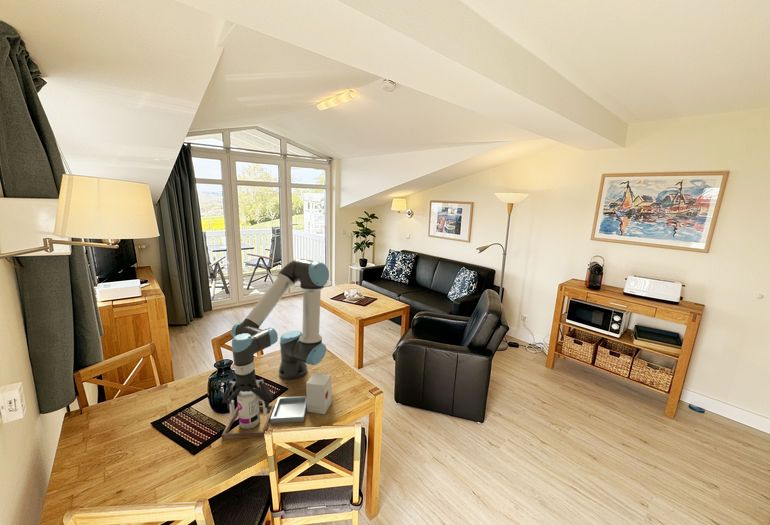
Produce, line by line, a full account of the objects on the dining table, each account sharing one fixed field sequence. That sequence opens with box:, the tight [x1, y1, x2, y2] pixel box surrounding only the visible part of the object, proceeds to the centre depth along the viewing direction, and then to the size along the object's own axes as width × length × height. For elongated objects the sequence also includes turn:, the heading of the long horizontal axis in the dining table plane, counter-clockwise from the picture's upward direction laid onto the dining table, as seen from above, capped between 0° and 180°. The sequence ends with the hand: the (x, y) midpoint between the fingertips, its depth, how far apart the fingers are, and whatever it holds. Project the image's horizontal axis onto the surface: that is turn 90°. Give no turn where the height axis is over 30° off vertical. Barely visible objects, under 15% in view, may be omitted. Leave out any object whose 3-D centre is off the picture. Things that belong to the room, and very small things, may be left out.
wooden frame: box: [221, 404, 275, 440], centre depth 132 cm, size 17×17×2 cm
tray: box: [270, 395, 307, 424], centre depth 139 cm, size 14×14×2 cm
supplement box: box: [305, 372, 333, 415], centre depth 141 cm, size 9×9×15 cm
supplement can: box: [236, 388, 261, 430], centre depth 130 cm, size 8×8×15 cm
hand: (249, 414), depth 131 cm, fingers open, 13 cm apart
